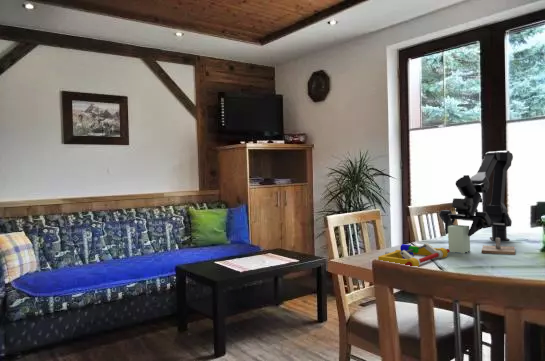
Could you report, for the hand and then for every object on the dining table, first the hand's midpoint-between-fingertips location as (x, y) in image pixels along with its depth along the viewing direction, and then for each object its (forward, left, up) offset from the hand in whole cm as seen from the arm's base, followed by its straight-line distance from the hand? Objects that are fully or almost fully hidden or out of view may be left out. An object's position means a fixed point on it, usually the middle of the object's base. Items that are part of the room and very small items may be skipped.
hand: (457, 234), depth 163 cm
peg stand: (-2, +15, -7) cm, 16 cm away
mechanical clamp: (+13, -18, -7) cm, 24 cm away
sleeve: (-1, +1, -7) cm, 7 cm away
